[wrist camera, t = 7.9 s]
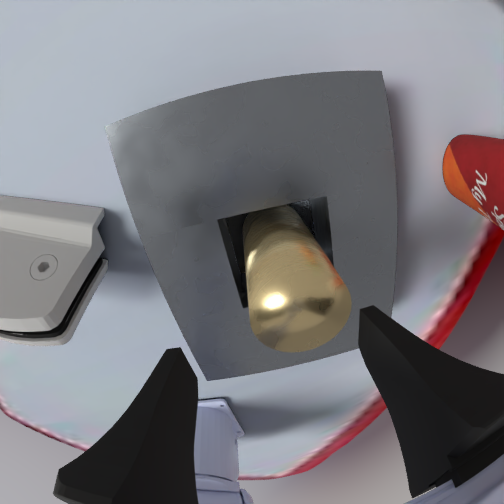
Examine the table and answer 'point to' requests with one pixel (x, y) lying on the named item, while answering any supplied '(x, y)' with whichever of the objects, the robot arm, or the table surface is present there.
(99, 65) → the table surface
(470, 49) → the table surface
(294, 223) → the brass pin
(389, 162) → the block
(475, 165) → the paper cup
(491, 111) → the table surface
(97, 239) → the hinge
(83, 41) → the table surface
